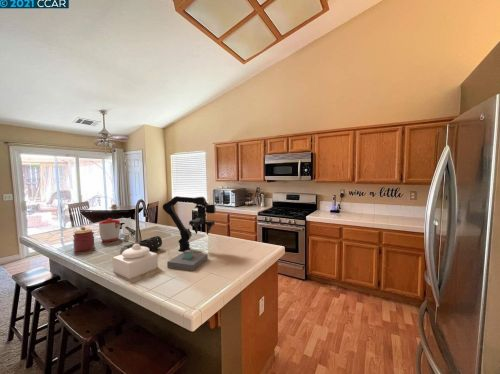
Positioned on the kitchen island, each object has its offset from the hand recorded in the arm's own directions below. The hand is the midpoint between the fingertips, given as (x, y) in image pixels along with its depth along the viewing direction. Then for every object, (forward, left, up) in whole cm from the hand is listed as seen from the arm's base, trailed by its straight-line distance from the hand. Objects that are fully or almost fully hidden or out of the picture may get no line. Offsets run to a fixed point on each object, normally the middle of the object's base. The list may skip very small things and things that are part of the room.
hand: (202, 234), depth 164 cm
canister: (-90, -23, -12) cm, 94 cm away
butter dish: (-21, -42, -12) cm, 49 cm away
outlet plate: (+4, -25, -12) cm, 28 cm away
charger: (+4, -25, -12) cm, 28 cm away
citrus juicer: (-91, +1, -12) cm, 92 cm away
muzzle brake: (-37, -20, -12) cm, 44 cm away
